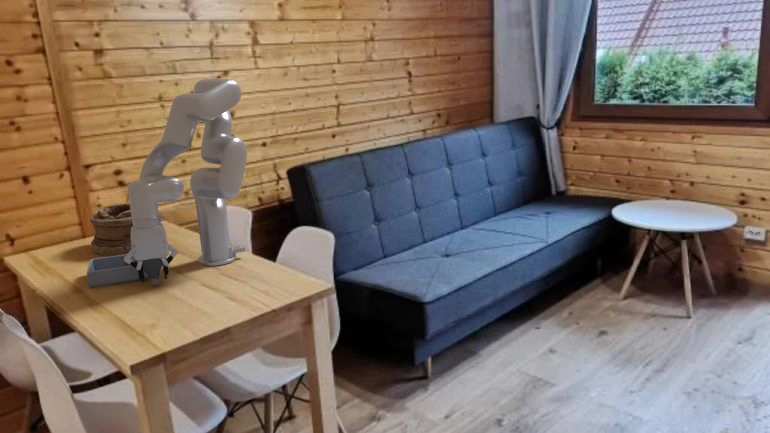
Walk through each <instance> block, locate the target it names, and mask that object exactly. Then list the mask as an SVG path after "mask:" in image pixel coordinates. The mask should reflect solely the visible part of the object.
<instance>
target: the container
mask: <svg viewBox="0 0 770 433" xmlns="http://www.w3.org/2000/svg"><path fill="white" fill-rule="evenodd" d="M89 220H90V221H89V222H90V223H91V224H92V226H93V229H94V236H93V240H91V242H90V245H91V249H92V251H93V253H95V254H98V255H101V256H106V257H110V256H117V255H125V254H128V253H129V251H130V250H131V249H132V247H131V227H133V222H132V215H131V209H130V202H126V203H115V204H111V205H106V206H104V207H100V208H99V209H98V210H97V212H95V213H92V215H90V219H89Z"/></svg>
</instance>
